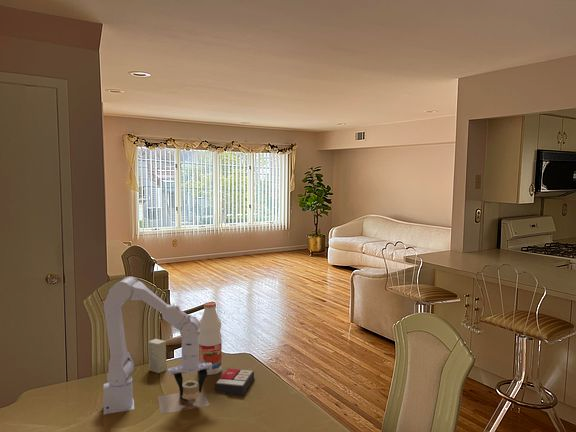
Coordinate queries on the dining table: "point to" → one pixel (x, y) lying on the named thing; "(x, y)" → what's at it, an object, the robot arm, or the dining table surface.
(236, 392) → the red white black box
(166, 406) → the gear board
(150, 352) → the skincare box
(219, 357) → the fruit juice
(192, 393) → the maple gear
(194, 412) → the dining table surface
